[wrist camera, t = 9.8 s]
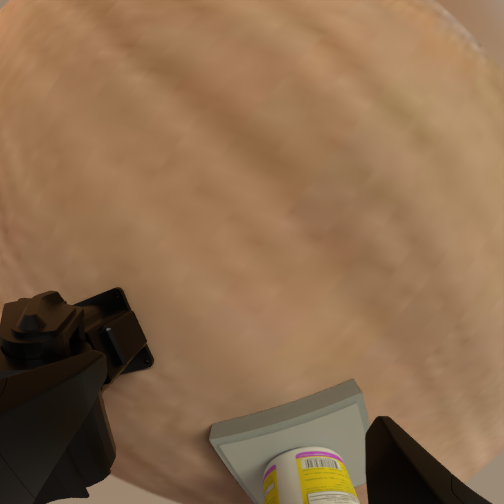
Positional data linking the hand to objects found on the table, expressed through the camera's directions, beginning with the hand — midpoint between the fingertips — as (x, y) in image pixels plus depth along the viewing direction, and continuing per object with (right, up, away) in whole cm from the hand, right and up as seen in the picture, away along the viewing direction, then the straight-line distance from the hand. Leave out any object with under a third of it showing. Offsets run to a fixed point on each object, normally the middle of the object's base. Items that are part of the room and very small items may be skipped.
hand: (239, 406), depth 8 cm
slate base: (+5, -13, +13) cm, 19 cm away
